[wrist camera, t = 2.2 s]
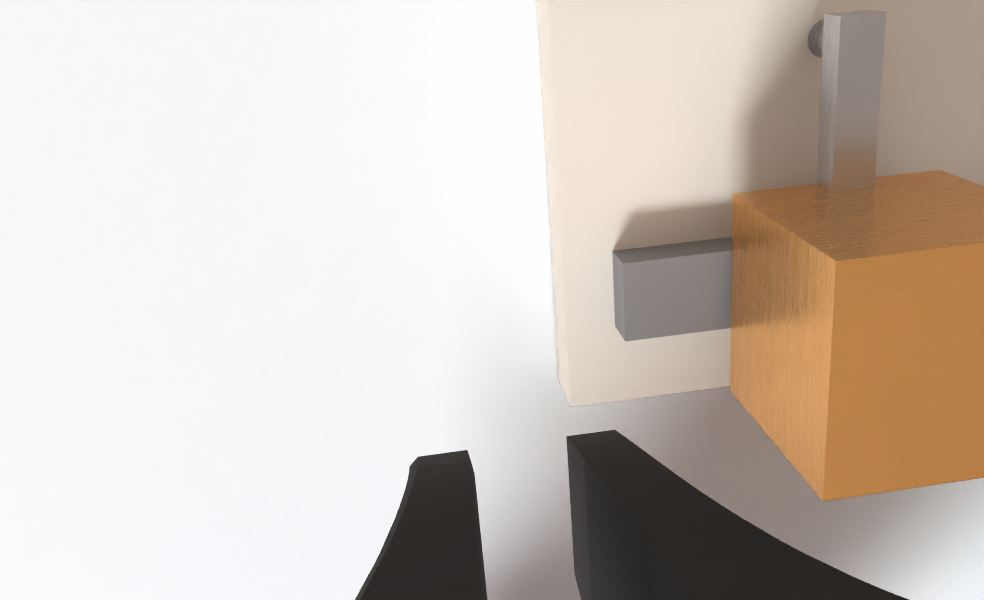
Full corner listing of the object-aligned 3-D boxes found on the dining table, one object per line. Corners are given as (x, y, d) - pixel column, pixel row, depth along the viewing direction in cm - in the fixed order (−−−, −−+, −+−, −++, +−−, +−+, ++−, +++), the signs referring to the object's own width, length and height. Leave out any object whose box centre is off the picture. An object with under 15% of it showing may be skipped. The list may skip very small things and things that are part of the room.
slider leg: (717, 375, 19) (822, 501, 15) (719, 20, 17) (848, 44, 12) (903, 350, 19) (1059, 466, 15) (932, -1, 17) (1130, 16, 13)
